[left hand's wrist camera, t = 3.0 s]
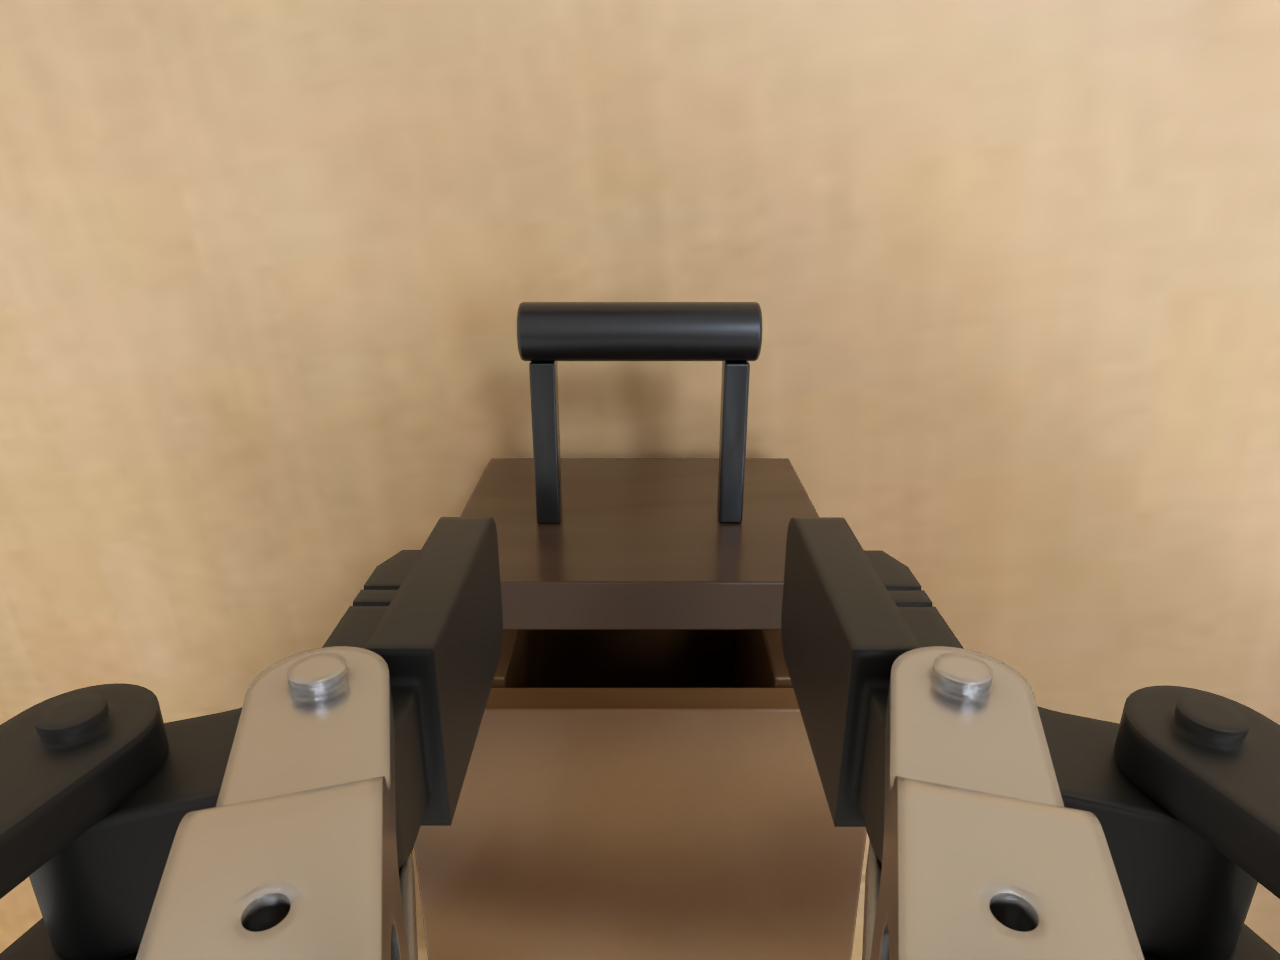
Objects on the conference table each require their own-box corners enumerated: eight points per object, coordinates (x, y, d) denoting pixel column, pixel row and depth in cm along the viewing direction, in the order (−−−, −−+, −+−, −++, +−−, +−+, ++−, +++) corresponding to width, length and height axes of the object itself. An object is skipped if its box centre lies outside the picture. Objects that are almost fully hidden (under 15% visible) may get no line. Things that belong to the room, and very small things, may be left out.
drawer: (478, 278, 24) (397, 328, 16) (800, 278, 24) (881, 327, 16) (522, 928, 32) (484, 1168, 24) (757, 928, 32) (795, 1168, 24)
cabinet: (481, 522, 27) (396, 709, 18) (797, 522, 27) (883, 709, 18) (515, 976, 34) (466, 1283, 25) (764, 976, 34) (812, 1283, 25)
